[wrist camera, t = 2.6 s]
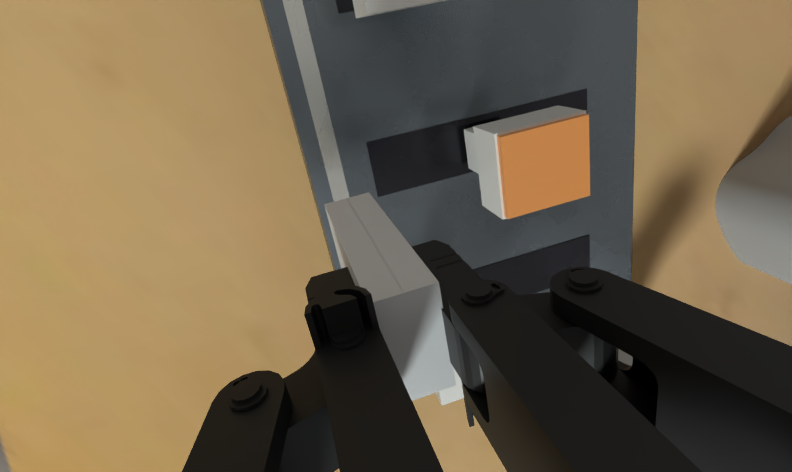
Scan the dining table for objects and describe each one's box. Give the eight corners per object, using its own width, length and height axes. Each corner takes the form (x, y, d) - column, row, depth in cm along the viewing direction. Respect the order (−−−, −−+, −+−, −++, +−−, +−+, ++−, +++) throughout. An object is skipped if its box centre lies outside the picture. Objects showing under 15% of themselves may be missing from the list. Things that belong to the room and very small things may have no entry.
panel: (585, -151, 24) (643, -187, 20) (592, 270, 34) (631, 296, 31) (233, -98, 21) (227, -129, 18) (354, 346, 31) (366, 385, 28)
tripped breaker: (521, 98, 23) (591, 111, 18) (526, 167, 25) (592, 197, 20) (446, 116, 23) (497, 135, 18) (455, 186, 24) (506, 222, 19)
